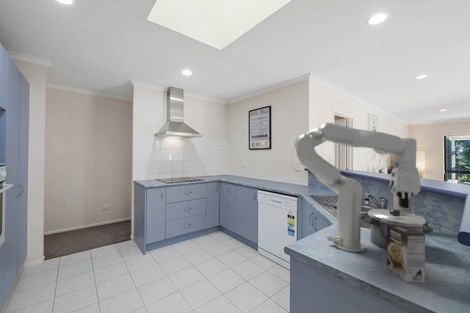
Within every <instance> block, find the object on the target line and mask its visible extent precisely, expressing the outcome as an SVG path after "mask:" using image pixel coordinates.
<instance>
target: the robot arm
mask: <svg viewBox="0 0 470 313" xmlns="http://www.w3.org/2000/svg"><path fill="white" fill-rule="evenodd" d="M325 142H330V143H335V144H339V145H342V146H346V147H351V148H363V149H364V148H367V149H372V150H373V152H375V153H376V154H379V155H393V163H391V166H392V167H393V168H392V169H391V173H390V178H389V179H390V180H389V189H390V193H391V194H393V195H394V194H396V195H397V196H398V198H399V206H400V207H403V208H409V199H410V198H411V199H412V196H416V195H418V194H419V193H420V192H421V176H420V171H419V169H417V147H418V146H417V144H418V143H417V139H415V138H414V137H413V138H412V137H403V138H402V137H400V136H397V135H394V134H389V133H385V132H382V131H373V130H367V129H361V128H360V129H358V128H354V127H350V126H345V125H341V124H337V123H333V122H323V123H322V124H320V125H318V126H317V127H316V128H314V129H312V130H310V131H308V132H306V133H302V134H300V135H298V136H297V138H296V139H295V140H294V148H295V150H296V151H295V152H296V156H297V158H298V161H299V163H300V164H301V165H302V166H303V167H304V168H306V169H307V170H308V171H309V172H311V173H312V174H313V175H314V177H315V178H316V179H317V180H318V181H319V182H320V183H321V184H323V185H324V186H325V187H327V188H328V189H329V190H331V191H332V192H334V193H335V194H337V196H338V198H337V204H336V233H334V235H333V236H329V235H327V236H326V241H327V242H328V241H329V242H331V243H332V244H333V245H334V246H335V247H336V248H338V249H340V250H342V251H345V252H350V253H363V252H364V251H365V249H366V248H365V245H363V244H362V240H361V236H362V235H361V224H362V223H361V219H362V218H361V215H362V212H361V209H362V208H361V207H362V198H363V186H362V185H361V183H360V182H359V181H357V180H356V179H354V178H351V177H346V176H345V175H343V174H341V172H340V170H339V169H338V168H337V167H336V166H335V165H333V164H332V163H330V162H329V161H327V160H326V159H325V158H324V157H323V156H321V155H320V154H318V152H317V151H316V149H315V148H316V147H317V146H320V145H321V144H324V143H325Z"/></svg>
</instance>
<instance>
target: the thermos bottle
mask: <svg viewBox="0 0 470 313" xmlns="http://www.w3.org/2000/svg"><path fill="white" fill-rule="evenodd" d="M393 209H396V210H400V211H402V212H407V213H412V197H411V198H410V199H409V208H403V207H400V206H399V198H398V196H397V195H396V194H393Z"/></svg>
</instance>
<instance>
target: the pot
mask: <svg viewBox="0 0 470 313" xmlns="http://www.w3.org/2000/svg"><path fill="white" fill-rule="evenodd" d="M363 222H365V223H366V224H368V225H370V242H371V243H372V245H374V246H376V247H378V248H380V249H382V250H386V251H387V225H404V226H406V227H409V228H411V229H413V230H416V231H418V232H421V233H423V227H428V226H429V223H428V221H426V223H425V224H423V225H405V224H397V223H391V222H386V221H382V220H379V219H376V218H373V217H371V216H369V217H364V218H363Z"/></svg>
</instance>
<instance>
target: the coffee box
mask: <svg viewBox="0 0 470 313" xmlns="http://www.w3.org/2000/svg"><path fill="white" fill-rule="evenodd" d="M386 268H387V269H389V270H390V271H391V272H392V273H394V274H395V275H397V276H398V278H401V280H402V281H404V282H405V283H420V284H421V283H423V284H425V283H426V282H425V281H426V280H425V277H426V273H425V272H426V271H425V270H426V234H425V233H423V232H422V233H421V232H418V231H416V230H413V229H411V228H409V227H406V226H404V225H387V250H386Z"/></svg>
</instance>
